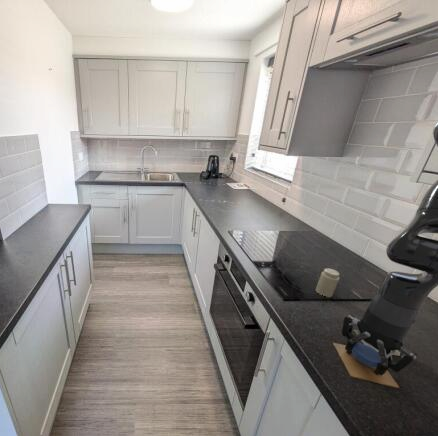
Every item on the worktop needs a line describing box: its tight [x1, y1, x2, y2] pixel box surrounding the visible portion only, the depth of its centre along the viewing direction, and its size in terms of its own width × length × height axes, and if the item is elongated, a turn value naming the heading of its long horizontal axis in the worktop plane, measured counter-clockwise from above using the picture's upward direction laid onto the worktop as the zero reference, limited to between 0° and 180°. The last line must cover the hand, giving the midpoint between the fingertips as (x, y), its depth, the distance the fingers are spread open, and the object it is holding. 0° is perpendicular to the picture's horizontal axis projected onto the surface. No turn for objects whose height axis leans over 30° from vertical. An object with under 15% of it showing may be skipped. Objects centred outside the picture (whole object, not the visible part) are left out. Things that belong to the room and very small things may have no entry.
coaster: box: [332, 342, 400, 389], centre depth 61 cm, size 10×10×1 cm
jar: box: [314, 267, 340, 298], centre depth 87 cm, size 5×5×10 cm
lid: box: [352, 342, 381, 368], centre depth 60 cm, size 6×6×2 cm
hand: (362, 362), depth 61 cm, fingers closed on lid, 5 cm apart
